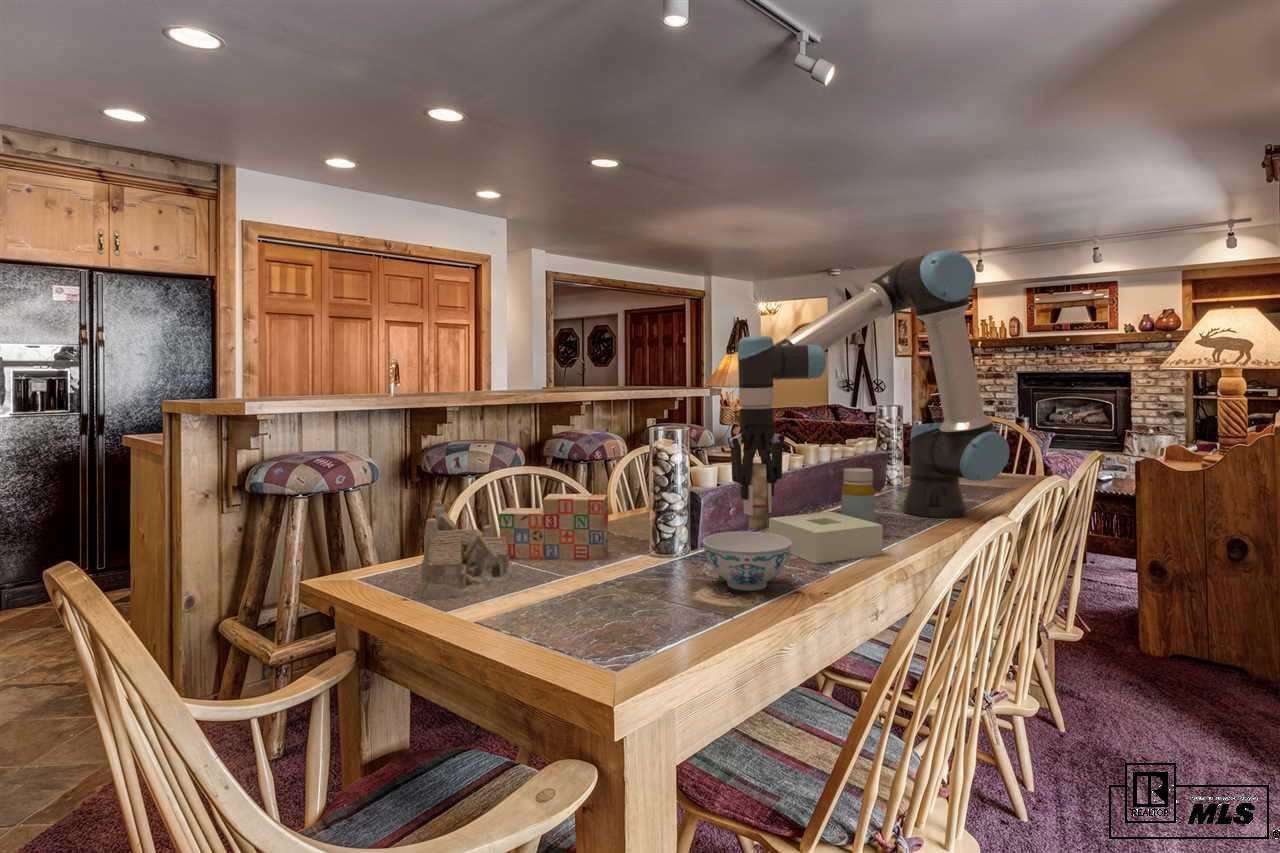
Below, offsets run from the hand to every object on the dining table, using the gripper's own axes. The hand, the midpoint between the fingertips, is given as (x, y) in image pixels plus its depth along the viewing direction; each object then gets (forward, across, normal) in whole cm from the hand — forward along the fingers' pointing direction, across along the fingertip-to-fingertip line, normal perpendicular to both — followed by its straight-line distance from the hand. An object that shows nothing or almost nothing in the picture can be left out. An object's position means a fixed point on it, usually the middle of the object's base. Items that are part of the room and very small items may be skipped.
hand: (757, 512), depth 159 cm
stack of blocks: (+5, +45, -5) cm, 46 cm away
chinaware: (+6, +21, +30) cm, 37 cm away
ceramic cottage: (+5, +66, +8) cm, 66 cm away
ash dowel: (+3, 0, 0) cm, 3 cm away
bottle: (+6, -20, +9) cm, 23 cm away
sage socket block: (+6, -6, +16) cm, 18 cm away
